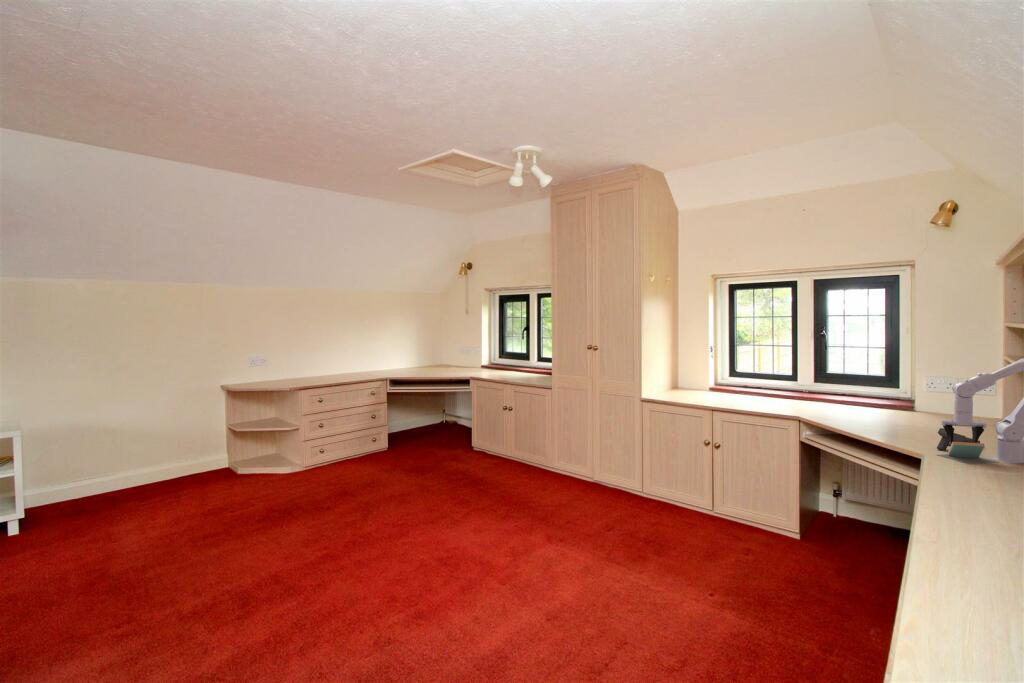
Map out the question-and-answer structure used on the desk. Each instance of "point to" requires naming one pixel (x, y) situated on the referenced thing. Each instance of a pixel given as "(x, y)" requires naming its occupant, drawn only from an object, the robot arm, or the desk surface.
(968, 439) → the handgun
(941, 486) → the desk surface
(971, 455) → the tile
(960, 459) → the mat
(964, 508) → the desk surface
